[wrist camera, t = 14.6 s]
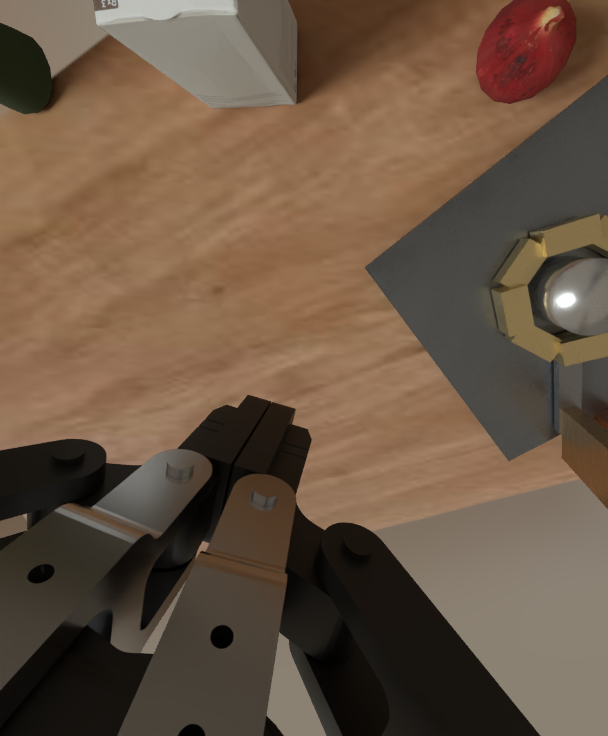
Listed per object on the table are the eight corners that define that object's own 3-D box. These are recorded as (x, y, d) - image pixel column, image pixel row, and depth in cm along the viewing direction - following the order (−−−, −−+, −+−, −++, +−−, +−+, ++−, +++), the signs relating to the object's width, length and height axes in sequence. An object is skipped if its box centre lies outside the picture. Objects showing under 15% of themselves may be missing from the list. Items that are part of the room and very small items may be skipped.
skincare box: (298, 24, 31) (239, -160, 17) (297, 110, 33) (243, 11, 19) (200, 30, 32) (68, -135, 18) (204, 114, 34) (88, 22, 20)
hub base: (631, 56, 28) (697, 9, 22) (785, 329, 32) (875, 348, 26) (364, 267, 36) (364, 271, 30) (514, 467, 39) (538, 505, 34)
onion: (504, 132, 31) (548, 97, 23) (449, 86, 30) (475, 34, 23) (563, 60, 29) (632, -5, 21) (505, 9, 28) (555, -76, 21)
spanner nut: (508, 211, 31) (609, 188, 18) (668, 221, 30) (906, 202, 16) (457, 439, 38) (504, 542, 25) (585, 456, 36) (708, 576, 23)
